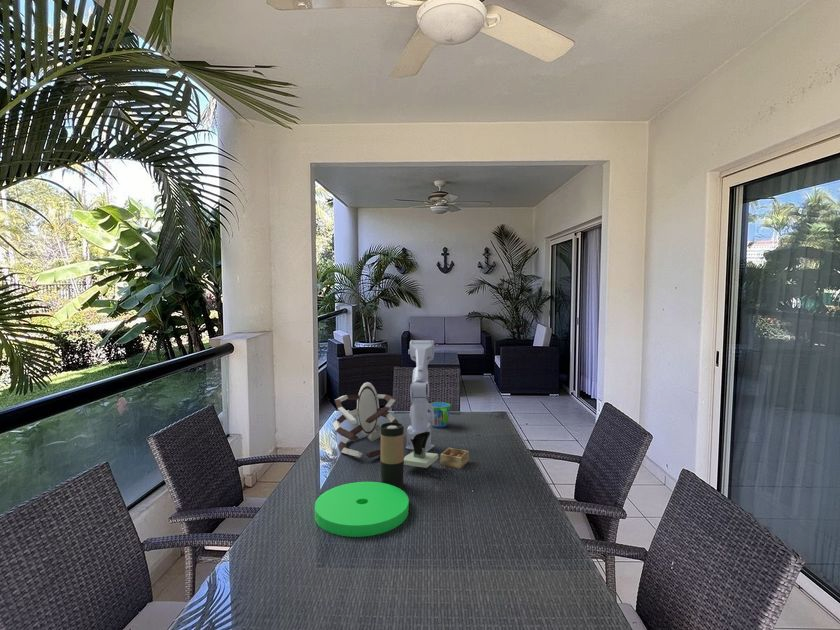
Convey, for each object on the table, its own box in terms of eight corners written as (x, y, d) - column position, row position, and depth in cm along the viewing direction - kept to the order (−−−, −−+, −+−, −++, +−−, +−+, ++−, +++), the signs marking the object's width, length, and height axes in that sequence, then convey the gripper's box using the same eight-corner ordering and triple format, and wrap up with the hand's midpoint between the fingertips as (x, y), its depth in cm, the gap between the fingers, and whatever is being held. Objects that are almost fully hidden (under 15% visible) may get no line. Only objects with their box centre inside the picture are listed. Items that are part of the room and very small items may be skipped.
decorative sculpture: (399, 430, 205) (399, 466, 170) (339, 432, 204) (327, 468, 169) (398, 378, 202) (398, 403, 167) (337, 379, 201) (324, 405, 166)
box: (440, 465, 167) (440, 454, 166) (448, 457, 174) (448, 447, 173) (460, 468, 163) (460, 458, 163) (468, 461, 170) (468, 451, 170)
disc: (316, 544, 115) (316, 531, 115) (312, 497, 141) (312, 487, 141) (419, 529, 122) (419, 517, 122) (397, 487, 148) (397, 477, 148)
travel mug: (376, 487, 148) (375, 427, 146) (388, 478, 154) (388, 421, 153) (396, 492, 144) (396, 430, 143) (408, 483, 151) (408, 424, 150)
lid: (400, 464, 160) (400, 451, 160) (413, 455, 169) (413, 442, 169) (426, 467, 156) (425, 454, 155) (438, 458, 164) (437, 445, 164)
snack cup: (424, 421, 221) (424, 401, 220) (445, 420, 223) (445, 400, 223) (432, 431, 206) (432, 409, 205) (454, 429, 208) (455, 408, 208)
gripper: (420, 422, 153) (420, 461, 154) (438, 412, 166) (438, 448, 167) (402, 419, 156) (402, 458, 157) (421, 409, 169) (420, 445, 170)
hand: (419, 453), depth 162 cm, fingers closed on lid
